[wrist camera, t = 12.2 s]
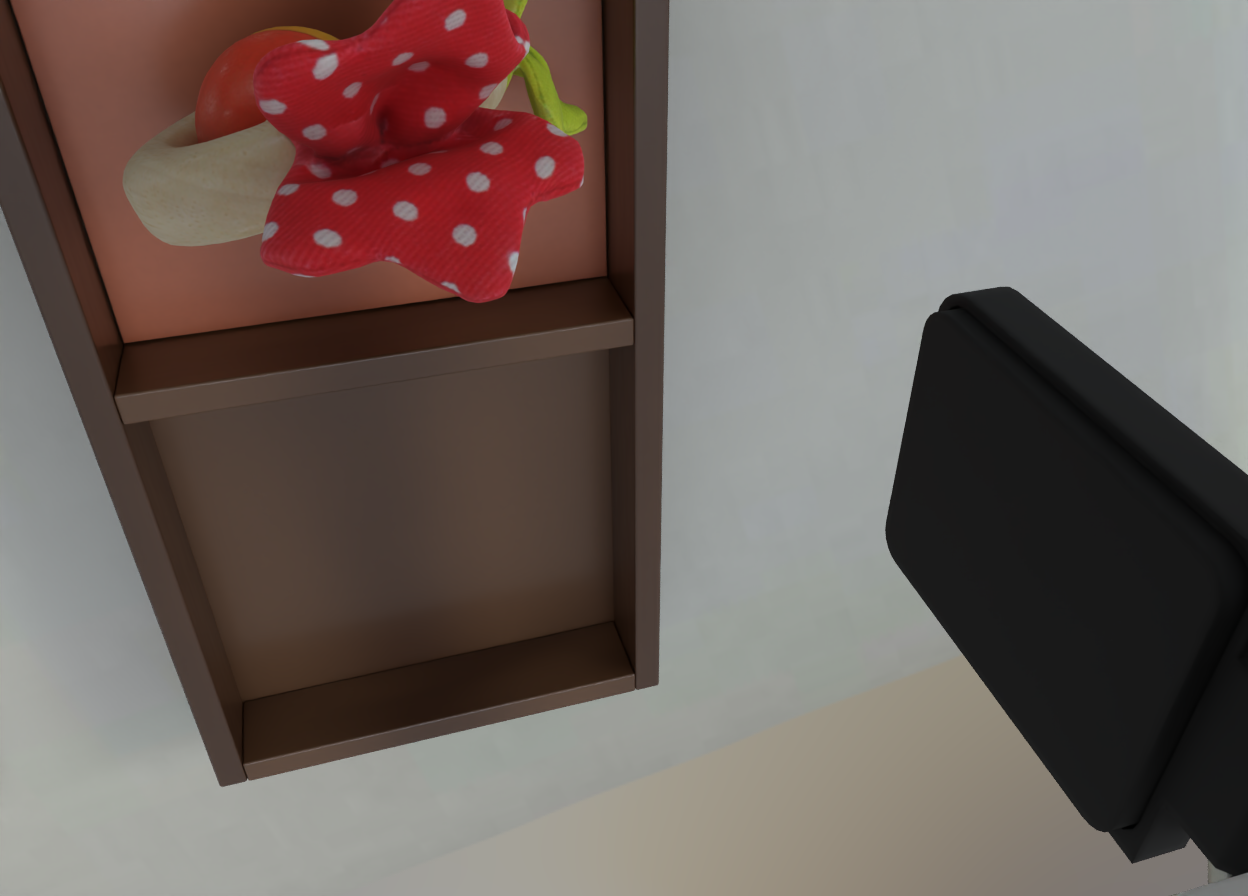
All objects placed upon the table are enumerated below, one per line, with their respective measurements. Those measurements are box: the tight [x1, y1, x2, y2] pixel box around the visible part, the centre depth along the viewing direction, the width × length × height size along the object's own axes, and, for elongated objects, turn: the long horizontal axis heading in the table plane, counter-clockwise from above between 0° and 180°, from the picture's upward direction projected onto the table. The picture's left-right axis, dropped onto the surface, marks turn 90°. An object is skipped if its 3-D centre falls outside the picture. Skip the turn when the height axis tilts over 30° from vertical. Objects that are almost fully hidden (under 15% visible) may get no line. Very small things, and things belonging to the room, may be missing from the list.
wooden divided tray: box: [0, 0, 669, 787], centre depth 26 cm, size 14×26×3 cm, turn 1°
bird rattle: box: [123, 0, 587, 303], centre depth 19 cm, size 6×11×9 cm
